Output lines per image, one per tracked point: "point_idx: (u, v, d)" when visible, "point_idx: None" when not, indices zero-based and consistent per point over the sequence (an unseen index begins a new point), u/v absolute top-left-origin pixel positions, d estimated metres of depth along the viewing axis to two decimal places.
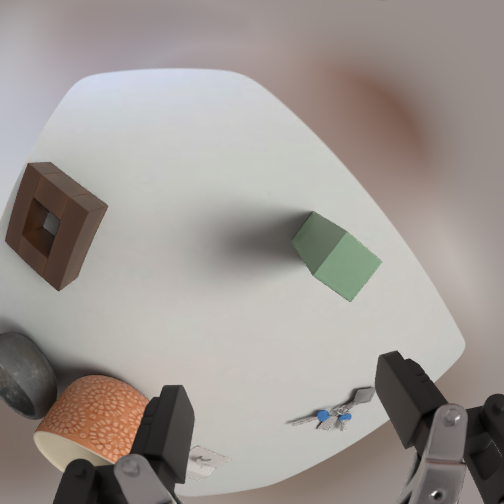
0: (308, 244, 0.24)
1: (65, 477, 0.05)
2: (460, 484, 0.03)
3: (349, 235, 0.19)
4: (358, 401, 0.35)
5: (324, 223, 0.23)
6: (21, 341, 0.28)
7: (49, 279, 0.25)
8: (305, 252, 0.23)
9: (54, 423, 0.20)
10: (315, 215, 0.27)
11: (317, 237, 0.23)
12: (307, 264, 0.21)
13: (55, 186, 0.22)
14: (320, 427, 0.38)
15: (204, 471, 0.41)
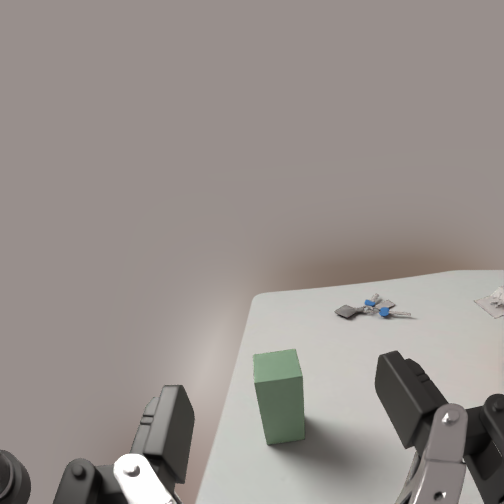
0: (290, 412, 0.22)
1: (65, 477, 0.05)
2: (460, 484, 0.03)
3: (255, 379, 0.21)
4: (352, 309, 0.46)
5: (266, 416, 0.22)
6: None
7: None
8: (297, 408, 0.22)
9: None
10: (267, 436, 0.23)
11: (279, 410, 0.22)
12: (301, 393, 0.21)
13: None
14: (392, 304, 0.46)
15: (499, 292, 0.37)
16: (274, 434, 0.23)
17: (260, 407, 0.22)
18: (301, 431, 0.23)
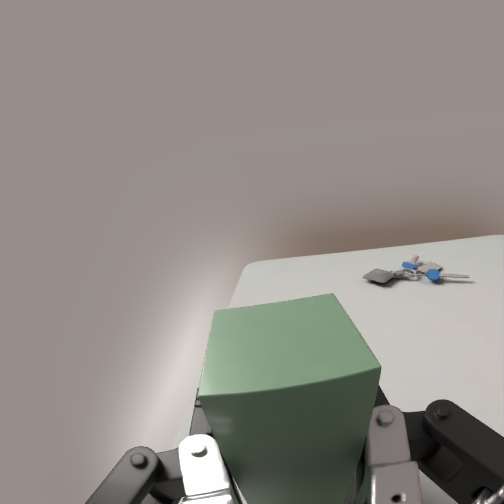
0: (321, 474, 0.06)
1: (121, 462, 0.06)
2: (417, 481, 0.04)
3: (204, 384, 0.06)
4: (388, 272, 0.31)
5: (251, 485, 0.06)
6: None
7: None
8: (342, 464, 0.06)
9: None
10: None
11: (290, 472, 0.06)
12: (365, 425, 0.06)
13: None
14: (438, 267, 0.30)
15: None
16: None
17: (231, 467, 0.06)
18: (339, 499, 0.07)
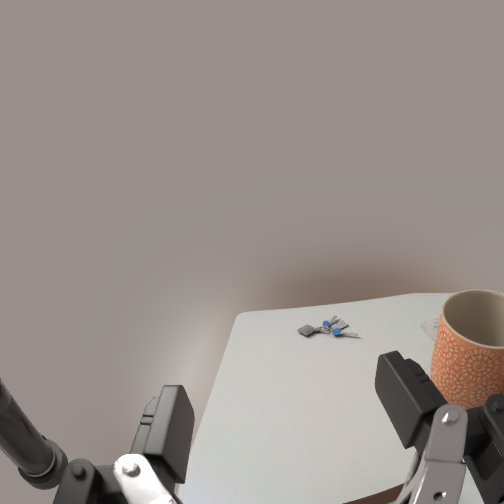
0: None
1: (65, 477, 0.05)
2: (461, 483, 0.03)
3: None
4: (311, 328, 0.60)
5: None
6: None
7: None
8: None
9: (488, 358, 0.22)
10: None
11: None
12: None
13: None
14: (345, 325, 0.60)
15: None
16: None
17: None
18: None
